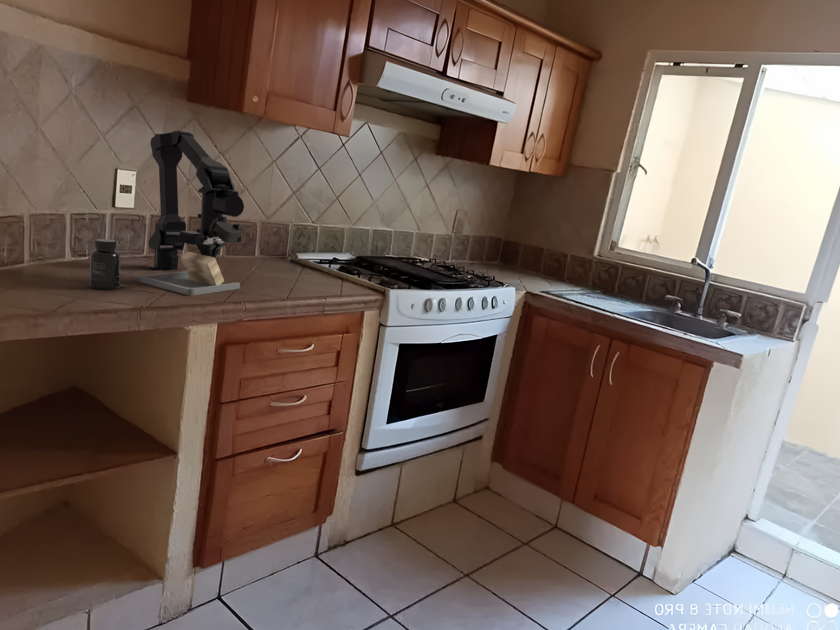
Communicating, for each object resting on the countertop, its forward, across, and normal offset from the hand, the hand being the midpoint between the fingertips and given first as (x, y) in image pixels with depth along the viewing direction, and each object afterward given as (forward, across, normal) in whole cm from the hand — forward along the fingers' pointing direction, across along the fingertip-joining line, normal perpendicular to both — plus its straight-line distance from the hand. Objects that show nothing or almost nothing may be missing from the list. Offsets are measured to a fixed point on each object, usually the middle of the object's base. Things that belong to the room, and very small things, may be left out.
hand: (209, 267), depth 174 cm
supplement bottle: (+5, -25, +10) cm, 28 cm away
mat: (+5, -6, +1) cm, 8 cm away
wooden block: (+4, 0, 0) cm, 4 cm away
